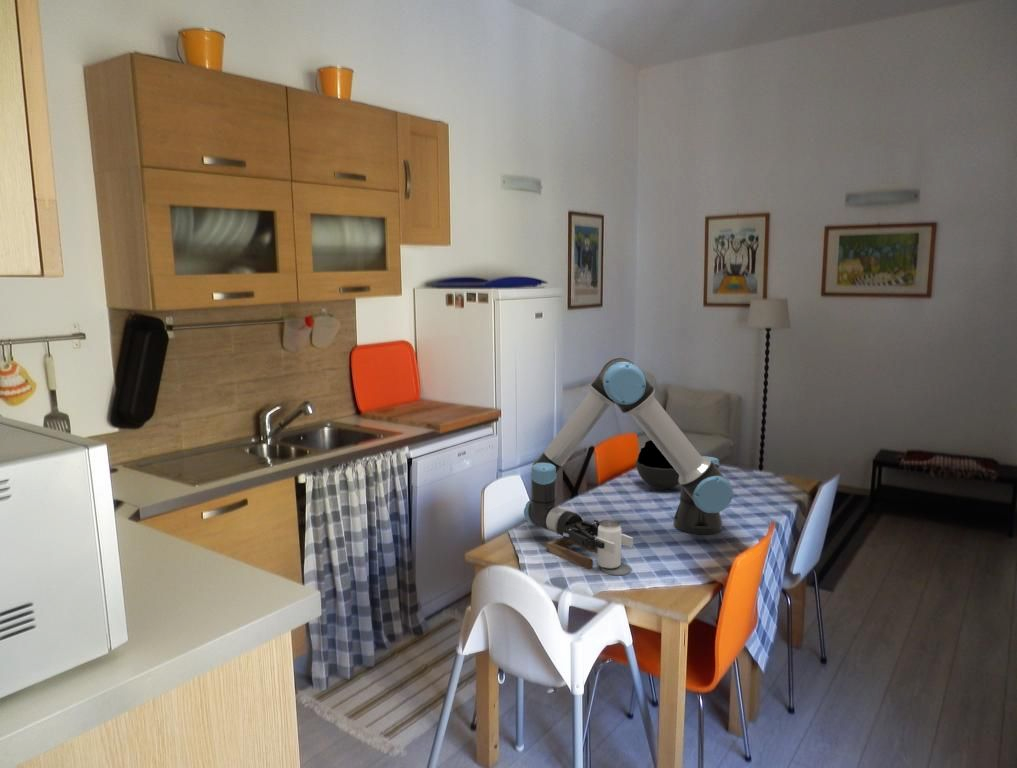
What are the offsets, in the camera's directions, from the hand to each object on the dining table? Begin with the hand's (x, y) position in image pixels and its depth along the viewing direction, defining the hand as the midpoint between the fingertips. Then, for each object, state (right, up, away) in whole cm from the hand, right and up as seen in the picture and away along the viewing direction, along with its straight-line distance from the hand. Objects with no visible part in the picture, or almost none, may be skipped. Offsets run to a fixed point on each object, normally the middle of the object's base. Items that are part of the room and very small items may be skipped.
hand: (623, 545), depth 197 cm
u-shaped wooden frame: (-10, -6, +14) cm, 18 cm away
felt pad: (-1, -7, +4) cm, 8 cm away
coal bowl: (+27, +4, +80) cm, 85 cm away
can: (-3, -7, +5) cm, 9 cm away
